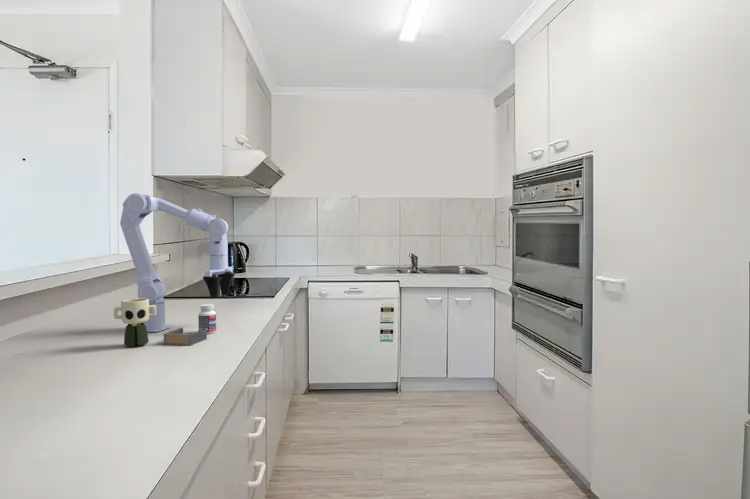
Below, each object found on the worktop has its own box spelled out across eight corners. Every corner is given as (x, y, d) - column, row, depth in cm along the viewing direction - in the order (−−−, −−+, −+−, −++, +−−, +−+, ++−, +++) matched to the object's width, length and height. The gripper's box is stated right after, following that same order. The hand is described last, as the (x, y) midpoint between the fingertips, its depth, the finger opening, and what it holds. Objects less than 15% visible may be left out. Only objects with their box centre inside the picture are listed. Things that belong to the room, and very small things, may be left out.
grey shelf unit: (164, 344, 143) (163, 333, 143) (180, 337, 151) (180, 327, 151) (191, 345, 141) (190, 334, 141) (206, 338, 149) (206, 328, 149)
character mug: (114, 350, 136) (112, 303, 136) (115, 344, 143) (114, 299, 142) (157, 346, 141) (156, 300, 140) (157, 340, 147) (155, 296, 146)
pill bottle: (210, 334, 154) (210, 306, 154) (195, 334, 156) (194, 306, 155) (219, 331, 160) (218, 303, 159) (204, 330, 161) (203, 303, 160)
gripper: (218, 256, 156) (219, 299, 157) (240, 253, 170) (241, 293, 171) (198, 256, 158) (199, 299, 158) (221, 253, 172) (222, 293, 173)
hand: (219, 296), depth 165 cm, fingers open, 6 cm apart
